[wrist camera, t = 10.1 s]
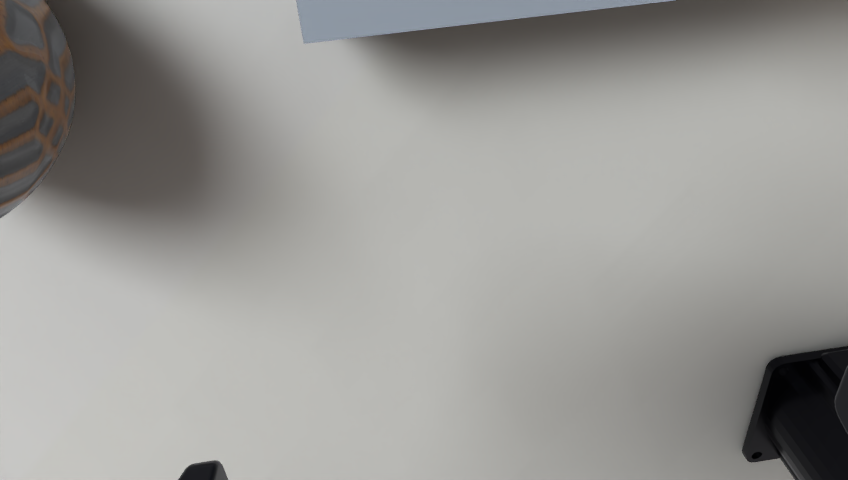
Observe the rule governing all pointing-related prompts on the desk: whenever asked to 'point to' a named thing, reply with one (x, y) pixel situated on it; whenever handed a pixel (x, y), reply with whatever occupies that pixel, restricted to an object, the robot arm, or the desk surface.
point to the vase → (31, 97)
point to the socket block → (426, 14)
